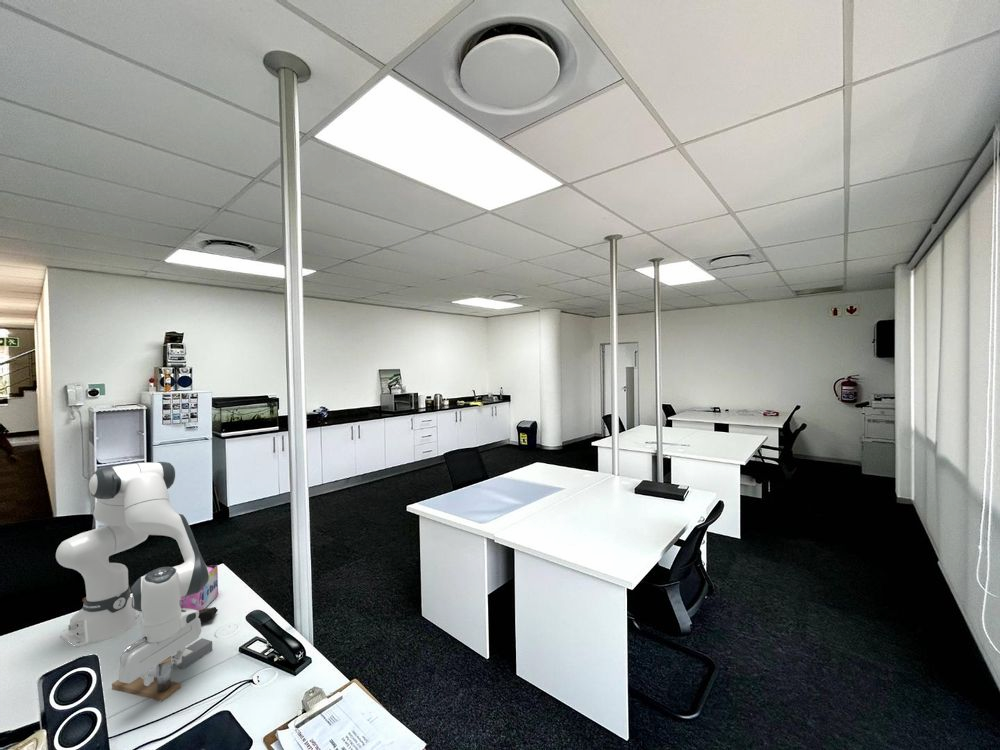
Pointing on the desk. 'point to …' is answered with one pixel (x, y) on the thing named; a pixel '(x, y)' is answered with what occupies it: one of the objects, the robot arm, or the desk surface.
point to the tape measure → (207, 613)
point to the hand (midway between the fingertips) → (163, 673)
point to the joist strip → (145, 689)
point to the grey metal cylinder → (164, 675)
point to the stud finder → (195, 652)
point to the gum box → (203, 593)
